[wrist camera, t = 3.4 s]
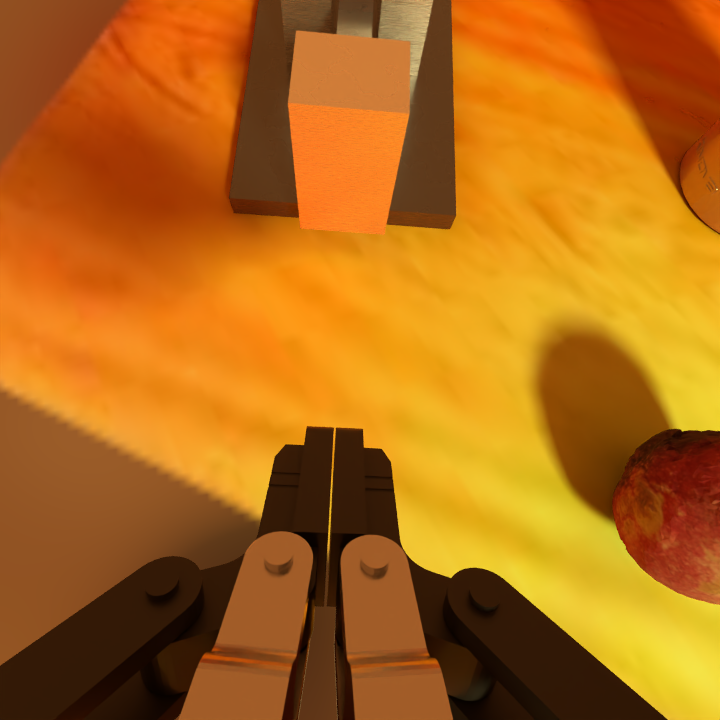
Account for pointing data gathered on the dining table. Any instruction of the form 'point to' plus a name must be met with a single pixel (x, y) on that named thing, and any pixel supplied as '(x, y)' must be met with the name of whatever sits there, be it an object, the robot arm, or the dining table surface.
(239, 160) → the shaft housing
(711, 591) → the fruit
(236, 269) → the dining table surface
